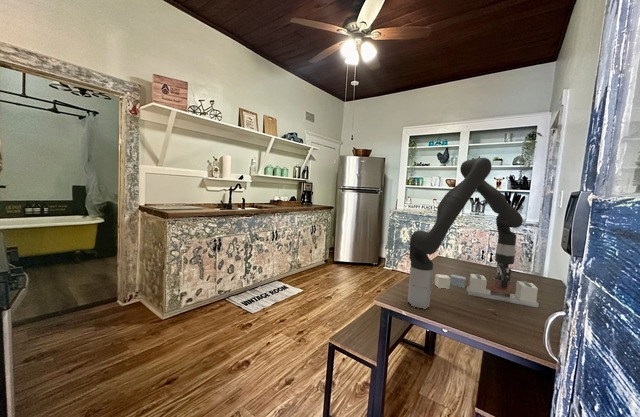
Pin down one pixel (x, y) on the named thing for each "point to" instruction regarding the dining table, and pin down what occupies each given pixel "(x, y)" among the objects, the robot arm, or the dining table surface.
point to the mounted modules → (523, 289)
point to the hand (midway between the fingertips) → (501, 285)
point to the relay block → (442, 281)
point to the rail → (502, 297)
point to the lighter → (497, 286)
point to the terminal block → (457, 281)
